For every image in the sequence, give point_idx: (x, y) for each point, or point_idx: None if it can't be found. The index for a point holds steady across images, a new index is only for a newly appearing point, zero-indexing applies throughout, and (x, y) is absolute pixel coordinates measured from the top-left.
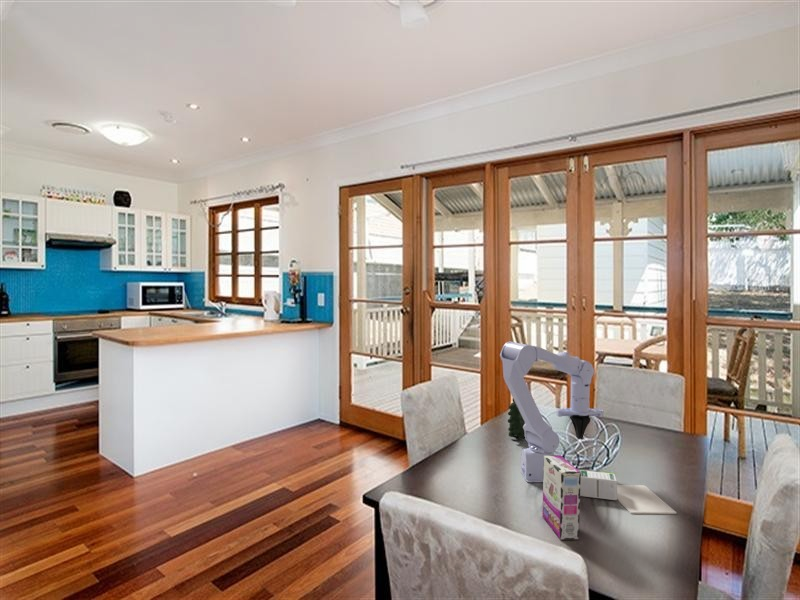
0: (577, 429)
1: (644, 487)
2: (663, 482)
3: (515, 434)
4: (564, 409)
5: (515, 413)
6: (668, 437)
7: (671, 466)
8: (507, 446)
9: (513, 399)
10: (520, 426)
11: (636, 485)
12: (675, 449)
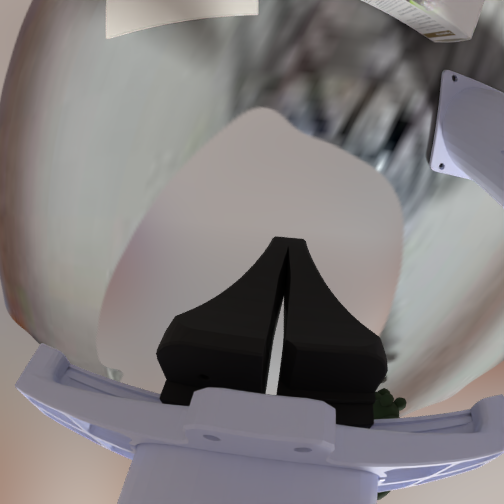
0: (324, 282)
1: (113, 20)
2: (52, 88)
3: (378, 393)
4: (418, 481)
5: None
6: (38, 326)
7: (24, 199)
8: (424, 352)
9: None
10: (376, 411)
11: (131, 29)
12: (24, 282)
